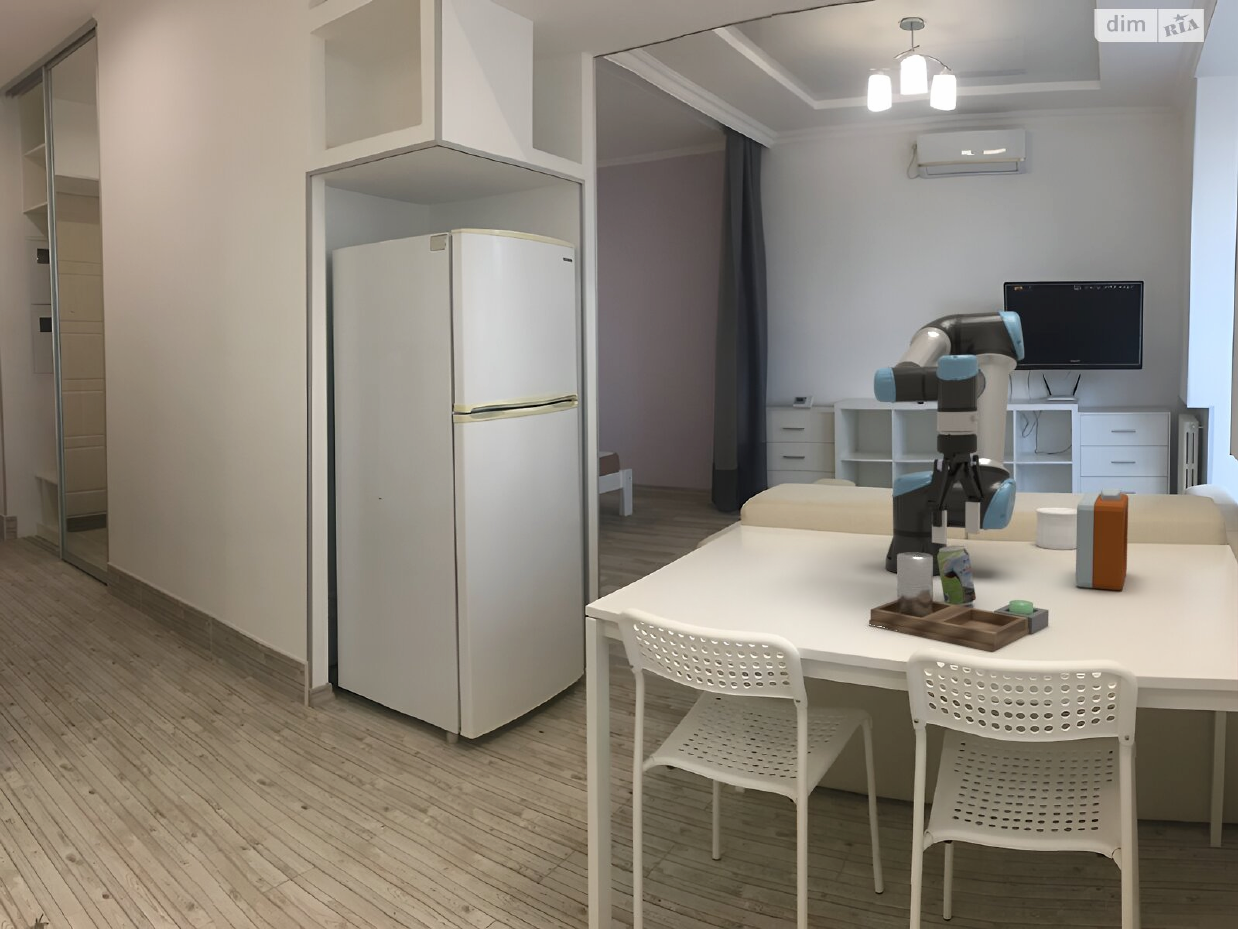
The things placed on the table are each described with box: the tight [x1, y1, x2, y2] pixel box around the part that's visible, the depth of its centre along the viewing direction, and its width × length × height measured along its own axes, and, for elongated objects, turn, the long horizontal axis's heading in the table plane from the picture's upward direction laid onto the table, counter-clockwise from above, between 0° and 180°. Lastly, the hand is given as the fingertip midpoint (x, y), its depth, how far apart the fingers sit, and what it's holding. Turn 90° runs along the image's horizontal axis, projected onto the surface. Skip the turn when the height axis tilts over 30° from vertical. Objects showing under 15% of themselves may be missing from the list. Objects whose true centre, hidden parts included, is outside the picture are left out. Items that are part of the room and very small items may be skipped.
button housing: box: [993, 604, 1050, 635], centre depth 166 cm, size 7×7×3 cm
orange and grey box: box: [1075, 487, 1129, 592], centre depth 196 cm, size 18×9×21 cm, turn 148°
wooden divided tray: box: [868, 599, 1030, 653], centre depth 165 cm, size 24×14×3 cm, turn 42°
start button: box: [1008, 599, 1034, 615], centre depth 165 cm, size 4×4×4 cm
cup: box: [1035, 507, 1077, 551], centre depth 233 cm, size 10×10×10 cm
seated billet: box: [896, 552, 934, 618], centre depth 170 cm, size 6×6×12 cm
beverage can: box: [937, 545, 977, 607], centre depth 181 cm, size 6×7×12 cm
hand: (956, 538), depth 180 cm, fingers open, 13 cm apart
